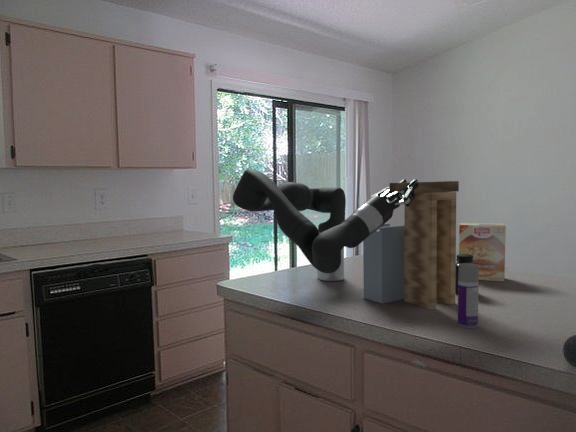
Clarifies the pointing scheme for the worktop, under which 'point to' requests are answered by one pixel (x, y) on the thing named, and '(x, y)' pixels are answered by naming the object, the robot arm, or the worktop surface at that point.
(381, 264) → the tall grey pillar
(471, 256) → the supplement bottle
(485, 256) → the coffeecake box
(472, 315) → the container
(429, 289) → the slotted wooden post
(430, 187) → the rail
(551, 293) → the worktop surface
